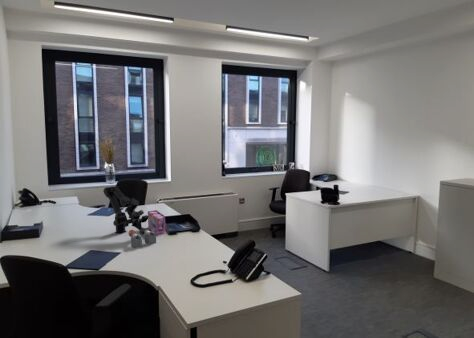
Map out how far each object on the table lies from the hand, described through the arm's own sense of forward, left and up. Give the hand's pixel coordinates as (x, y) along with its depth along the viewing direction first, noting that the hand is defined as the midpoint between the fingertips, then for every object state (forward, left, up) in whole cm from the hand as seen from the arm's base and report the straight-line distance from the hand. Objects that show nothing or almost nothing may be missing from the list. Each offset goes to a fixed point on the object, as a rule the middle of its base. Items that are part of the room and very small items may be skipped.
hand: (141, 230), depth 267 cm
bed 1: (+5, -13, -7) cm, 16 cm away
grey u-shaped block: (+10, -4, -7) cm, 13 cm away
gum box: (-3, +25, -8) cm, 26 cm away
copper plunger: (+1, -10, -3) cm, 11 cm away
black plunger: (+5, -2, -3) cm, 6 cm away
